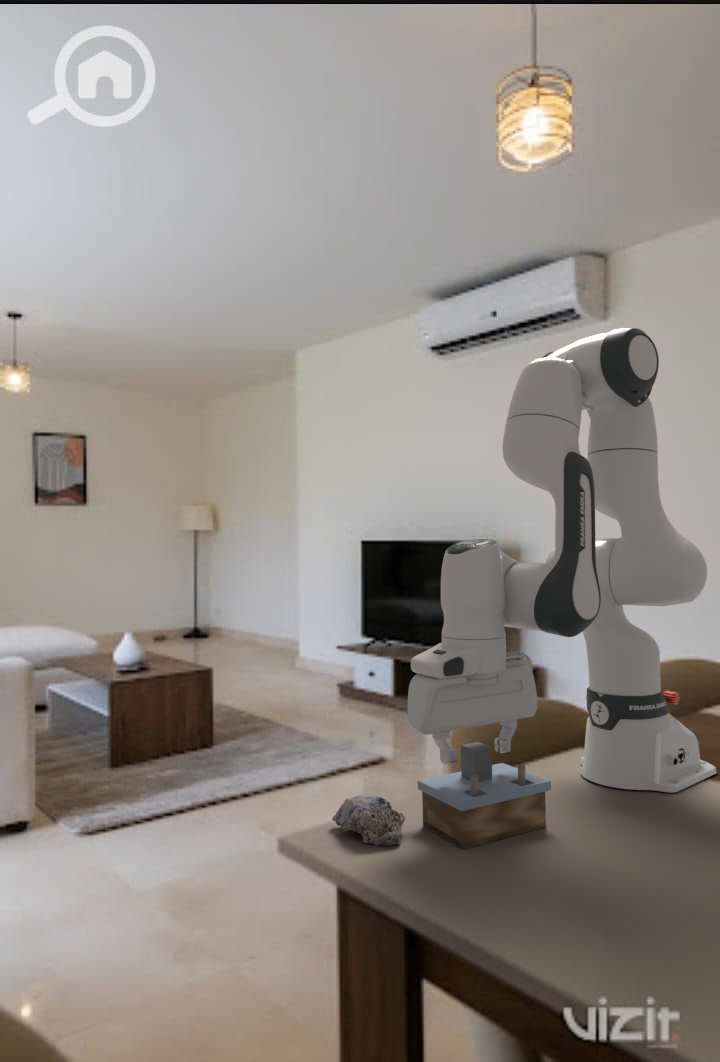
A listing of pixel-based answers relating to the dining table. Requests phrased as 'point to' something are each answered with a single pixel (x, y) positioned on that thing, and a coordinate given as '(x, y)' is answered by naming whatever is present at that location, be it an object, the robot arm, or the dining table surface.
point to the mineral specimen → (371, 819)
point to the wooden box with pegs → (485, 817)
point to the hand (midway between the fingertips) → (476, 756)
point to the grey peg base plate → (481, 781)
